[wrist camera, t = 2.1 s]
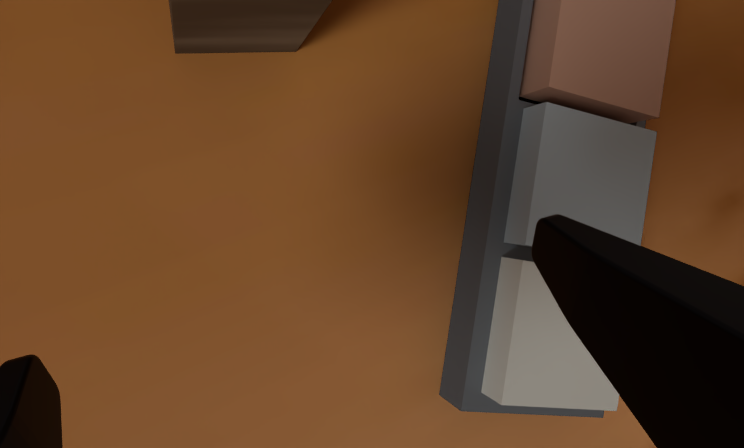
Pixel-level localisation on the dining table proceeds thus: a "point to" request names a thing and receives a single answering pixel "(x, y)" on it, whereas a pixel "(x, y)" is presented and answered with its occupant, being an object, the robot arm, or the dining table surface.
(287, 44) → the walnut stylus post
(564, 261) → the robot arm
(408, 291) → the dining table surface
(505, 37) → the key pad
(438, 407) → the dining table surface
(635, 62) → the terracotta key
